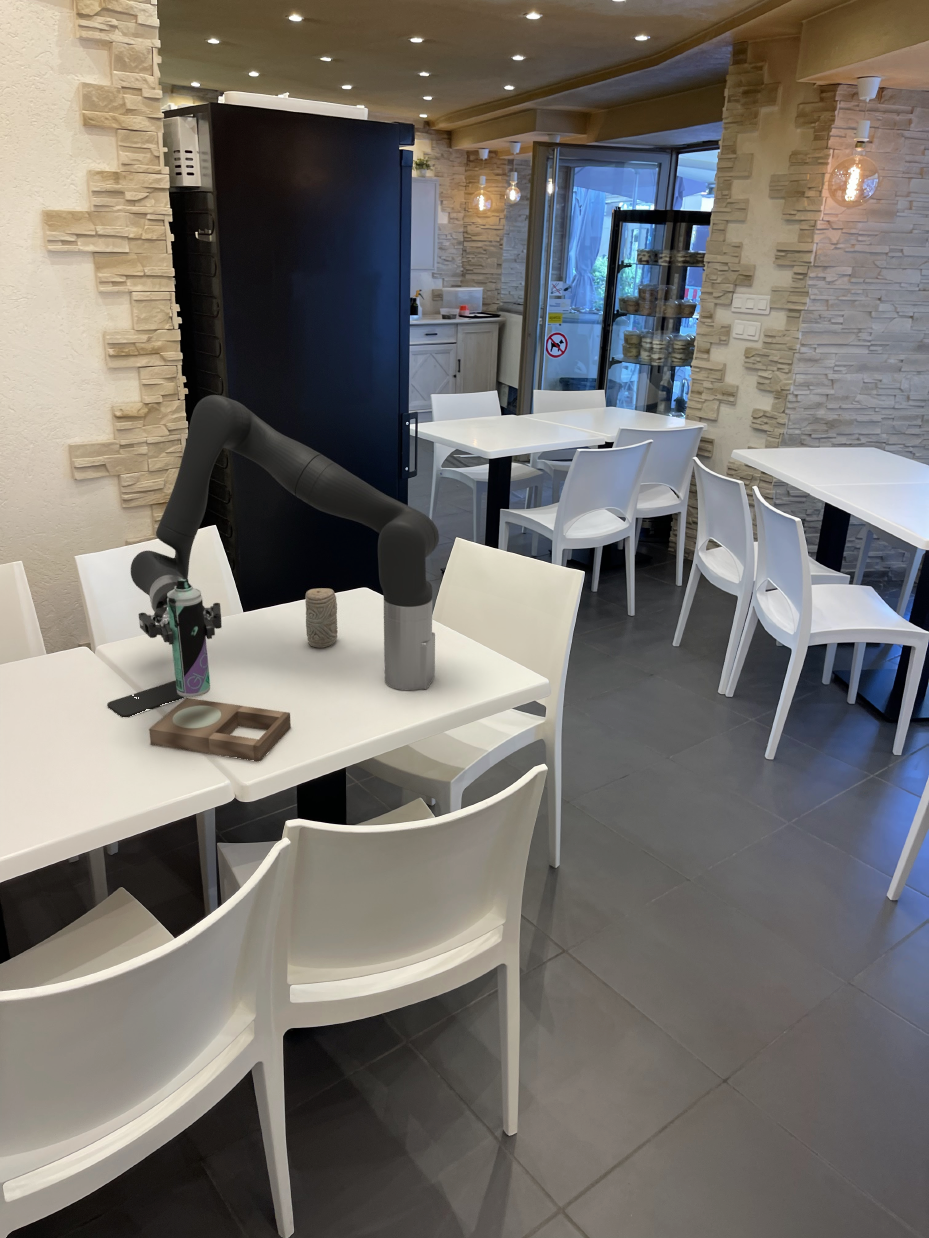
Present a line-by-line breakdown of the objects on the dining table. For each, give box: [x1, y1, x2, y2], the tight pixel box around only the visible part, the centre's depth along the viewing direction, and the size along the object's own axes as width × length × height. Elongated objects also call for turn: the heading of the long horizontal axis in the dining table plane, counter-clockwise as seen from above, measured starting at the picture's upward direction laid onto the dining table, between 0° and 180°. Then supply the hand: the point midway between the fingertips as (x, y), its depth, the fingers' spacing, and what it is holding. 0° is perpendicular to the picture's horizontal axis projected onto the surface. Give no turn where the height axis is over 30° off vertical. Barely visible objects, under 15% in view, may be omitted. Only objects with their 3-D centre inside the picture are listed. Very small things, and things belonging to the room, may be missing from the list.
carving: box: [304, 587, 338, 649], centre depth 190 cm, size 6×8×12 cm
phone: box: [106, 679, 185, 718], centre depth 167 cm, size 7×1×15 cm
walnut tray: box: [148, 697, 292, 762], centre depth 154 cm, size 20×12×3 cm, turn 76°
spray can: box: [167, 578, 211, 698], centre depth 149 cm, size 6×6×20 cm
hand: (190, 636), depth 146 cm, fingers closed on spray can, 5 cm apart
